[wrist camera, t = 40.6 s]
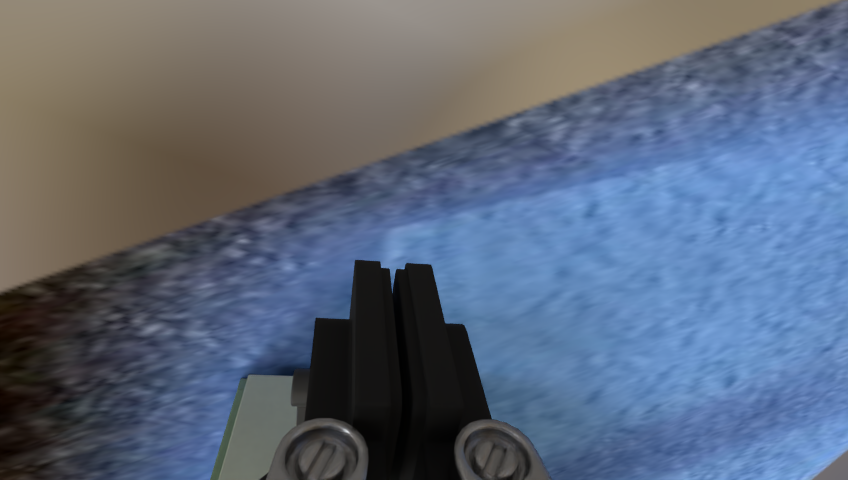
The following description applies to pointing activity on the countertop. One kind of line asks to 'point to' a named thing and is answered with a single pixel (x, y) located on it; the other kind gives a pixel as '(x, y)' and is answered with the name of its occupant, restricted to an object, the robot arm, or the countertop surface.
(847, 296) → the countertop surface
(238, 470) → the pull-out drawer
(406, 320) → the robot arm
